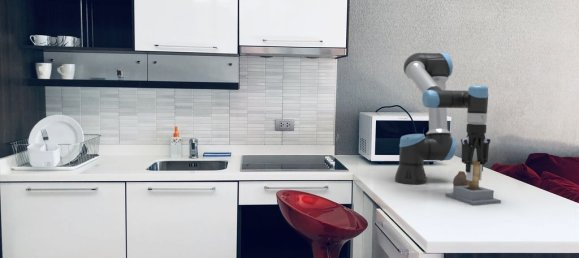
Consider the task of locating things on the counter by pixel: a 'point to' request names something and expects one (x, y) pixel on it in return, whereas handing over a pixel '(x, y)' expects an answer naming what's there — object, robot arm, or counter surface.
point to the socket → (473, 195)
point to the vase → (460, 179)
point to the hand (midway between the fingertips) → (473, 179)
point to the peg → (475, 176)
